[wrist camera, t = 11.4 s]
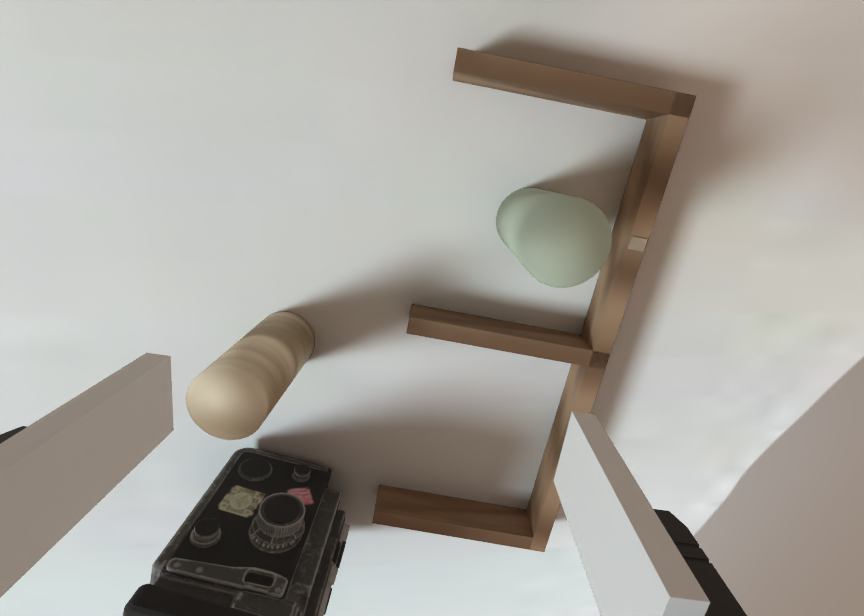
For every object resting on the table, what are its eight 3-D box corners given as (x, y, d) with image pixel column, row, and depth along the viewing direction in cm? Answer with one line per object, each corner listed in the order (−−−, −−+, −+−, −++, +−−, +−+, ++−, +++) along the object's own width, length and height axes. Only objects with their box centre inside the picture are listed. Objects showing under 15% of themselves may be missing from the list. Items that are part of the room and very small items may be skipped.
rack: (456, 59, 28) (458, 46, 25) (671, 103, 29) (697, 95, 26) (377, 496, 38) (372, 523, 35) (536, 523, 39) (544, 553, 36)
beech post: (259, 306, 33) (186, 362, 24) (317, 317, 34) (268, 377, 24) (256, 359, 35) (185, 432, 25) (312, 369, 35) (262, 445, 25)
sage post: (504, 182, 30) (532, 188, 21) (567, 194, 30) (623, 206, 21) (490, 245, 32) (510, 278, 22) (550, 256, 32) (596, 295, 22)
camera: (341, 552, 40) (285, 763, 26) (226, 523, 40) (104, 723, 25) (369, 458, 37) (323, 639, 23) (244, 425, 37) (117, 591, 22)
